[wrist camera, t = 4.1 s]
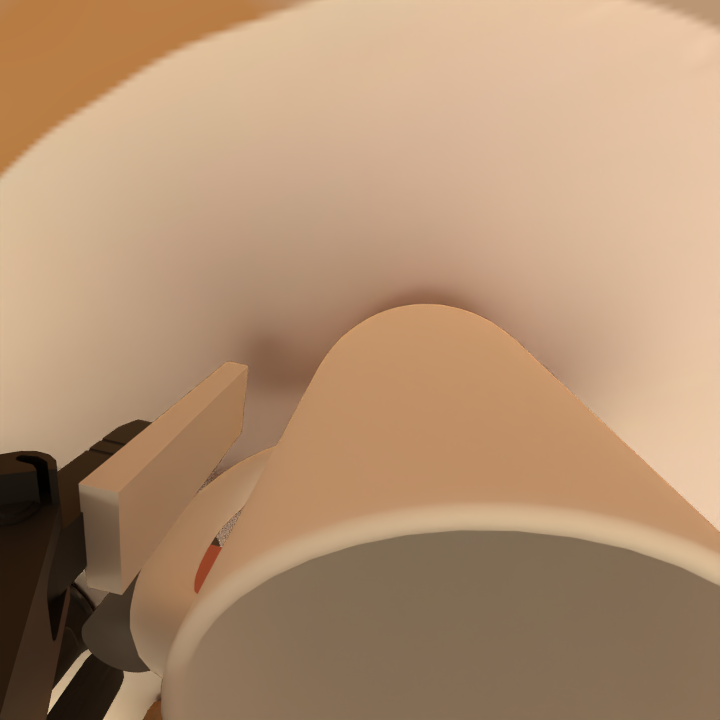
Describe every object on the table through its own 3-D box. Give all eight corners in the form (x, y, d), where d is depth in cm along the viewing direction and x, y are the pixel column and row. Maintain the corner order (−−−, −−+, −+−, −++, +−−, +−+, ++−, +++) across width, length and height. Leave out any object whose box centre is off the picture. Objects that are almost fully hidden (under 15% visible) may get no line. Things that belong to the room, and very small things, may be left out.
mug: (268, 518, 17) (102, 909, 7) (196, 351, 14) (-208, 608, 5) (544, 474, 15) (820, 932, 5) (516, 271, 12) (951, 432, 3)
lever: (170, 549, 19) (85, 668, 14) (171, 488, 18) (77, 596, 13) (543, 642, 19) (597, 801, 14) (576, 586, 17) (650, 741, 12)
